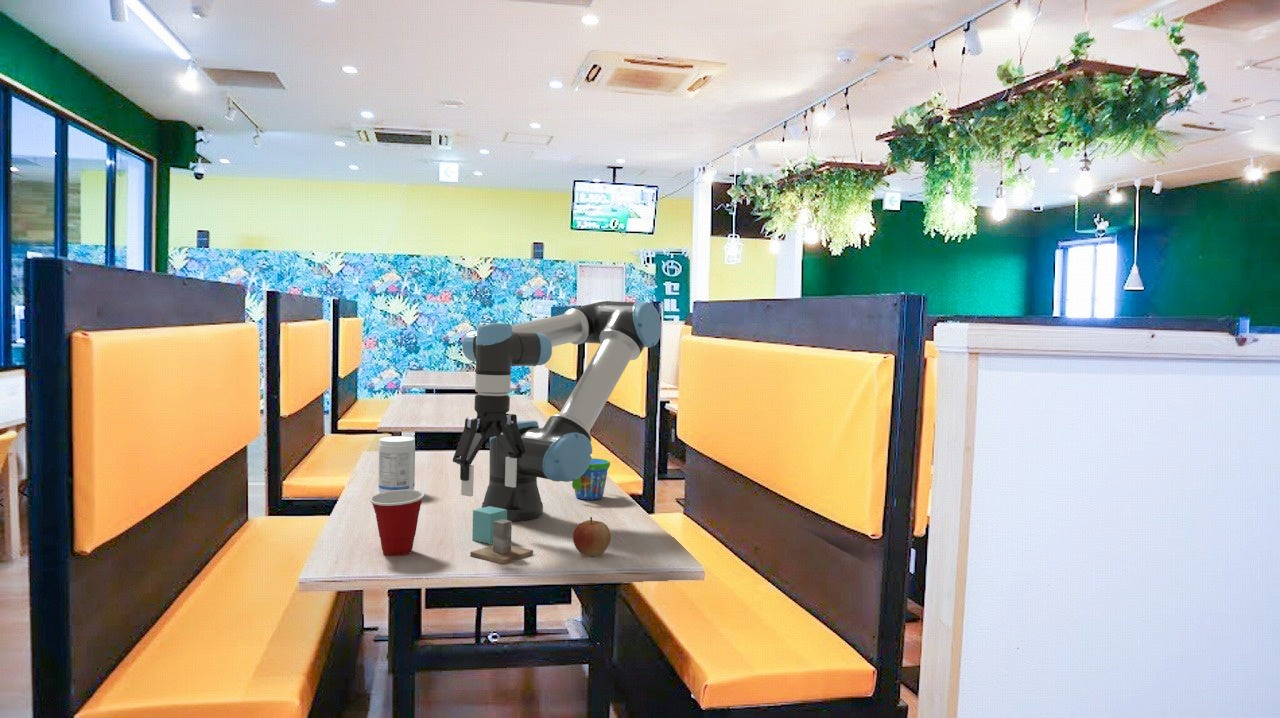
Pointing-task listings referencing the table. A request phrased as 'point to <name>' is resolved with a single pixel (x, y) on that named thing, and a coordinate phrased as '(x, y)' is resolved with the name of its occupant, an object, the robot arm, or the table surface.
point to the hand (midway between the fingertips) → (489, 491)
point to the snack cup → (592, 480)
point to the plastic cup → (397, 519)
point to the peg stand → (501, 545)
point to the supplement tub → (396, 463)
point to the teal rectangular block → (486, 523)
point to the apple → (591, 537)
